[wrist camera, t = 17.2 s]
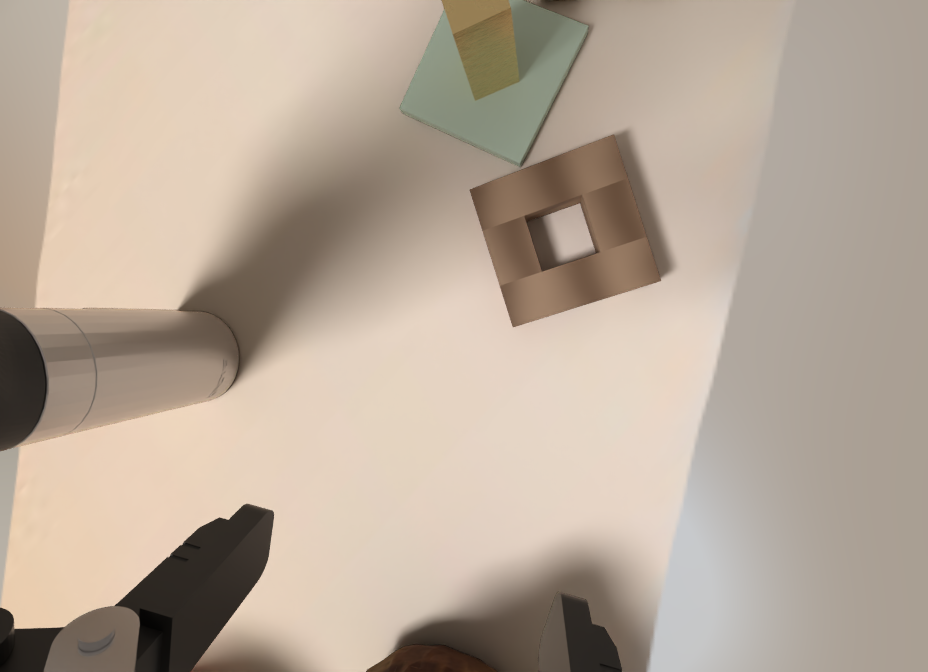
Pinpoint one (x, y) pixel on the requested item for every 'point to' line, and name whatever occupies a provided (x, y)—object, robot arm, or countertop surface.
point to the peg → (484, 43)
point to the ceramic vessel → (430, 660)
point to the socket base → (608, 219)
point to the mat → (508, 110)
